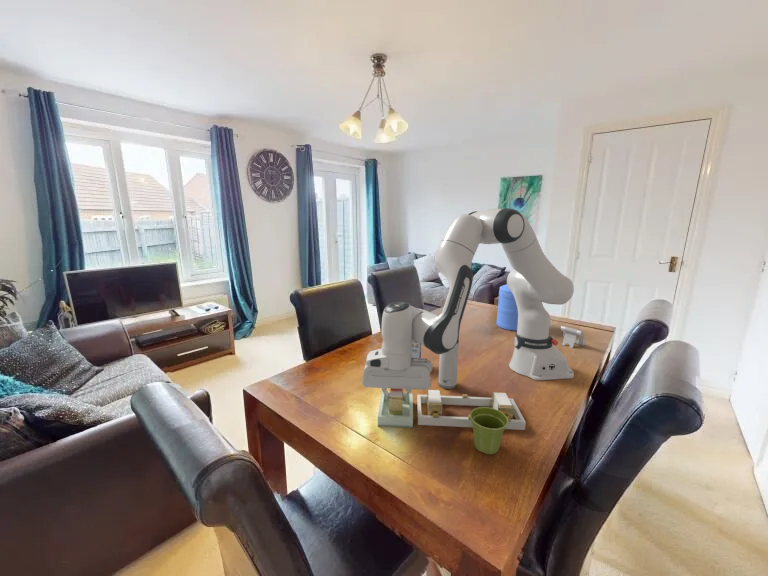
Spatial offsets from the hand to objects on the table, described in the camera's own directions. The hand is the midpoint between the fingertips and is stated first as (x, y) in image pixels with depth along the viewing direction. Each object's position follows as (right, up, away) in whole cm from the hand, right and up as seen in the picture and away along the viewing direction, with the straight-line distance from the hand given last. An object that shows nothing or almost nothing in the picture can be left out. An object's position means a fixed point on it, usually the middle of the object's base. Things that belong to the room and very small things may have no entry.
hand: (396, 399), depth 98 cm
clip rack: (+21, -5, 0) cm, 22 cm away
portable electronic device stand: (+83, +7, +52) cm, 98 cm away
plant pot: (+23, -8, -13) cm, 28 cm away
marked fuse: (0, -3, 0) cm, 3 cm away
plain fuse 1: (+11, -5, +1) cm, 12 cm away
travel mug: (+19, -1, +17) cm, 25 cm away
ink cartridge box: (+6, +3, +33) cm, 34 cm away
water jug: (+65, +13, +76) cm, 101 cm away
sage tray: (0, -4, +1) cm, 5 cm away
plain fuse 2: (+31, -5, 0) cm, 32 cm away
